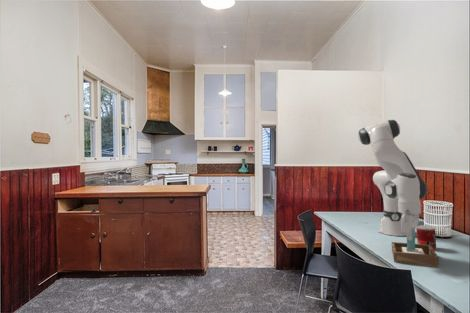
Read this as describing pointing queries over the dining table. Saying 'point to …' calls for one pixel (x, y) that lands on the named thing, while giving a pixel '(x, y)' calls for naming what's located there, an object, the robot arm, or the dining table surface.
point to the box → (415, 255)
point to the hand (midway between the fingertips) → (411, 238)
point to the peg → (411, 242)
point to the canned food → (426, 236)
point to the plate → (417, 250)
